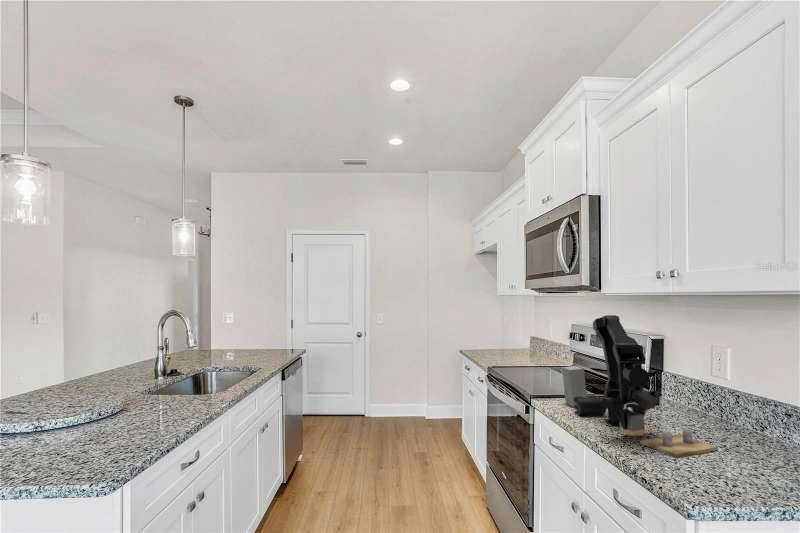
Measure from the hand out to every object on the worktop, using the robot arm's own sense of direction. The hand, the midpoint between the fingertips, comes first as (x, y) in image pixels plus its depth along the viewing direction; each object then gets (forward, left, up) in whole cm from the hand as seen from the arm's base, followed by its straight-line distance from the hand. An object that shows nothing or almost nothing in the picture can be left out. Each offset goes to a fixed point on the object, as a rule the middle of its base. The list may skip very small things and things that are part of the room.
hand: (631, 428), depth 132 cm
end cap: (-25, +5, -3) cm, 26 cm away
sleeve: (0, 0, -1) cm, 1 cm away
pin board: (+11, +6, -3) cm, 13 cm away
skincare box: (-38, +9, -3) cm, 39 cm away
